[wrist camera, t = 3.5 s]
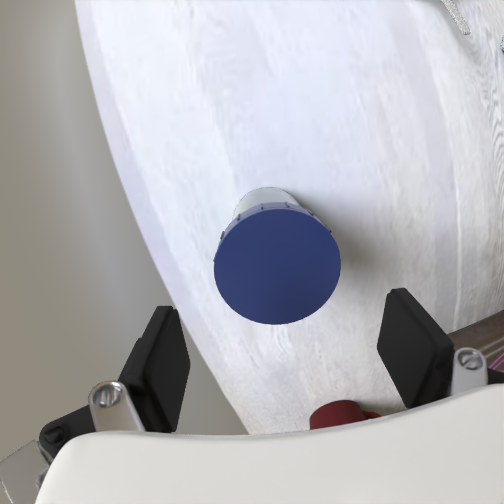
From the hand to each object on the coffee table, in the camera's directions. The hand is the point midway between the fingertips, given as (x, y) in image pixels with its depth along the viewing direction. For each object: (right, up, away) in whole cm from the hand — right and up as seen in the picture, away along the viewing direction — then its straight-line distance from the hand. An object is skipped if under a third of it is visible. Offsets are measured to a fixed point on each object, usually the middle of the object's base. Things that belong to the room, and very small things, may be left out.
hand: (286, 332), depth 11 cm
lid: (0, +2, +5) cm, 5 cm away
